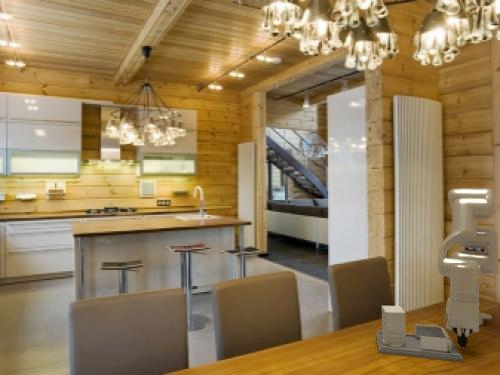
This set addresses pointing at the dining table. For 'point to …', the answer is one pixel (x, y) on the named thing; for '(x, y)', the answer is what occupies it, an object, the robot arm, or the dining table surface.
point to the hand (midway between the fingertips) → (462, 345)
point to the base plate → (416, 349)
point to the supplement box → (393, 325)
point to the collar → (433, 338)
